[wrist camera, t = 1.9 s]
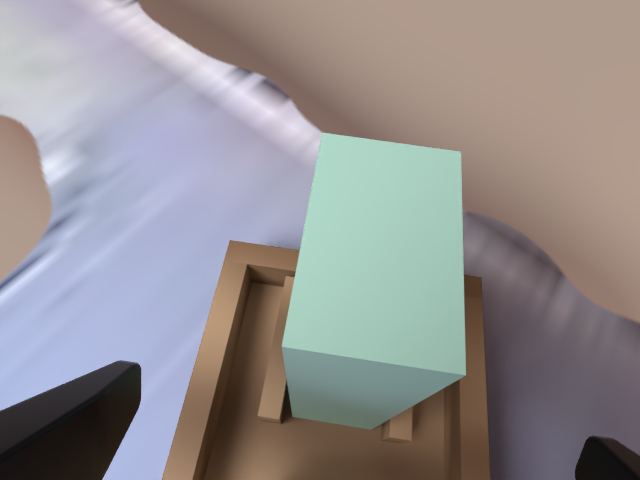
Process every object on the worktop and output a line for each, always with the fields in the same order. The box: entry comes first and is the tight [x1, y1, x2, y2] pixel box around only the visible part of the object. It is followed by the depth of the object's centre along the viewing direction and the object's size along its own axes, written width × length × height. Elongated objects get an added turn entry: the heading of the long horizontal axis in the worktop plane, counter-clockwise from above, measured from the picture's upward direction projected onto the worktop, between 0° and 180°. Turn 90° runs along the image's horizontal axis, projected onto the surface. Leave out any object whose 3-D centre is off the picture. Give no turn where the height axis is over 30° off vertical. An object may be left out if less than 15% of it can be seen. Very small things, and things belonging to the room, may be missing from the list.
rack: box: [162, 240, 490, 480], centre depth 16 cm, size 15×11×3 cm
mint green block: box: [282, 133, 466, 430], centre depth 13 cm, size 5×3×11 cm, turn 172°
